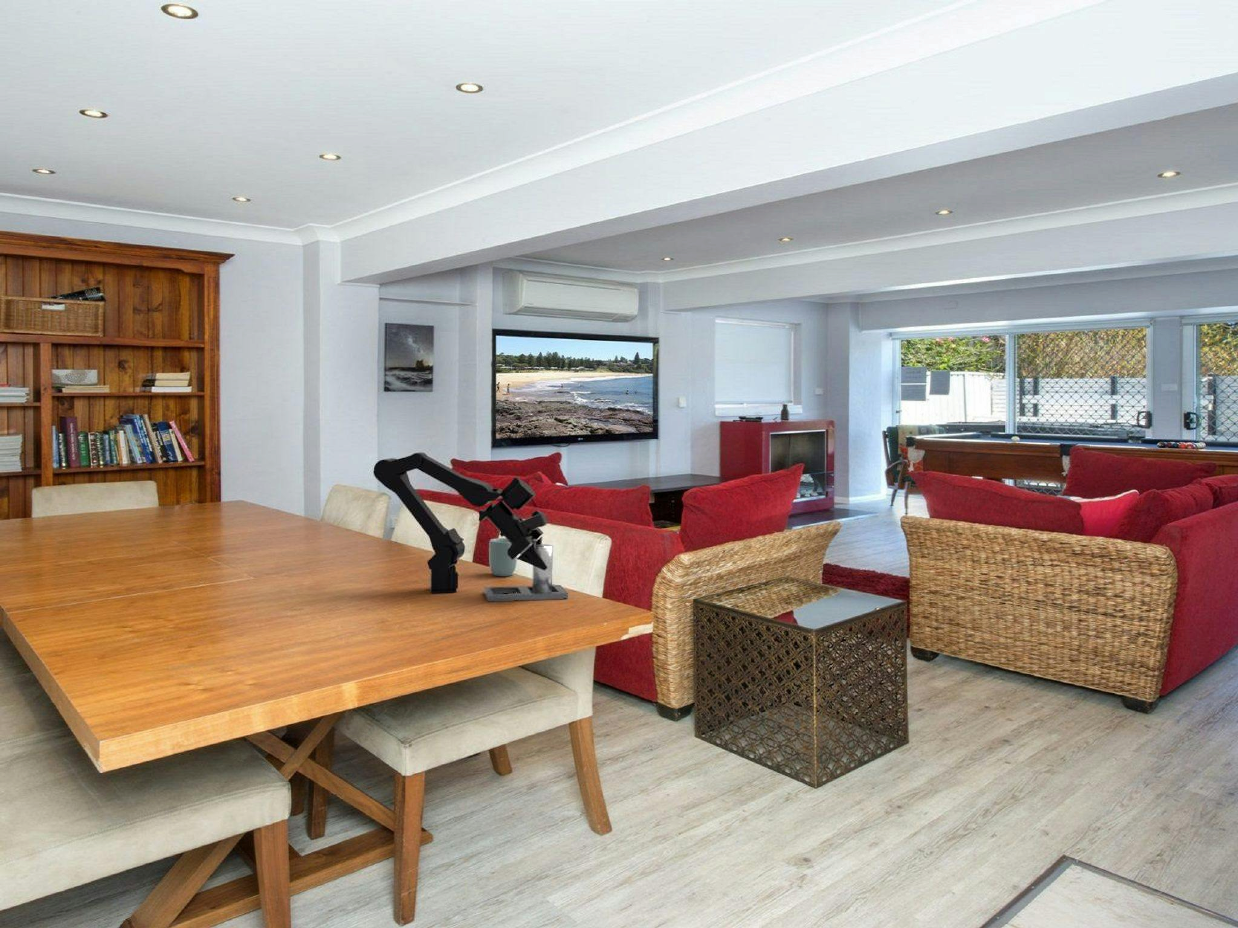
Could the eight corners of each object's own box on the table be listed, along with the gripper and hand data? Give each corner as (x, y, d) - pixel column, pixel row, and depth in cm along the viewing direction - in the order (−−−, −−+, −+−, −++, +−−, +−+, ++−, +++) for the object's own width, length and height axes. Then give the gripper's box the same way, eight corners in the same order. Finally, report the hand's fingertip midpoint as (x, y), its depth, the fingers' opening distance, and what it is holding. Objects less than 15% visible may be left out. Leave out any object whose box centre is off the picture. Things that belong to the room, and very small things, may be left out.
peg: (537, 595, 226) (538, 548, 225) (529, 591, 230) (530, 544, 229) (555, 593, 228) (556, 546, 228) (546, 589, 233) (547, 543, 232)
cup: (511, 578, 249) (512, 543, 249) (485, 576, 251) (485, 541, 250) (520, 573, 257) (520, 538, 256) (494, 571, 259) (494, 537, 258)
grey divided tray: (488, 601, 221) (488, 595, 221) (483, 592, 230) (483, 587, 230) (567, 598, 226) (567, 592, 226) (560, 590, 236) (560, 584, 235)
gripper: (521, 505, 219) (564, 552, 218) (536, 497, 237) (576, 540, 237) (489, 535, 220) (532, 582, 220) (506, 525, 239) (546, 568, 238)
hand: (548, 567), depth 229 cm, fingers closed on peg, 5 cm apart
